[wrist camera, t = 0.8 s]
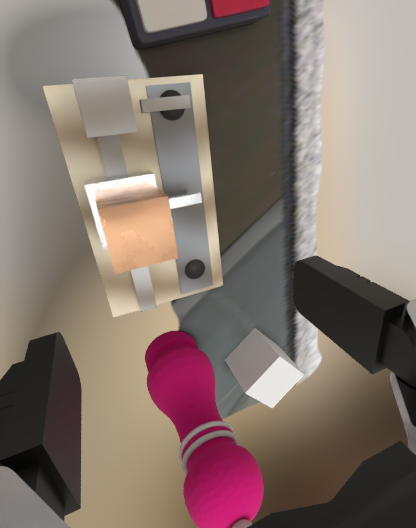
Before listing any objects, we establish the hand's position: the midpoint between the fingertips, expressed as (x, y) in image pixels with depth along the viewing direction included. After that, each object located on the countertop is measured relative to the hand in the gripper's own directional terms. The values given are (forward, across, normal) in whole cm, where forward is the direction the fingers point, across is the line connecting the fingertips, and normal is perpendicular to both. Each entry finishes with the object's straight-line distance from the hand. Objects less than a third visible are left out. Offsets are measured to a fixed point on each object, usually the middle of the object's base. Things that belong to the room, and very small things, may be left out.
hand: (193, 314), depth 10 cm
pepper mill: (+20, -1, +19) cm, 28 cm away
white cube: (+20, -12, +24) cm, 34 cm away
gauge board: (+20, -2, +1) cm, 20 cm away
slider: (+17, -1, 0) cm, 17 cm away
